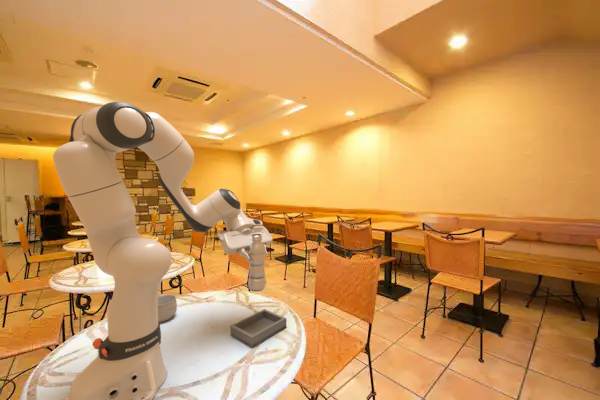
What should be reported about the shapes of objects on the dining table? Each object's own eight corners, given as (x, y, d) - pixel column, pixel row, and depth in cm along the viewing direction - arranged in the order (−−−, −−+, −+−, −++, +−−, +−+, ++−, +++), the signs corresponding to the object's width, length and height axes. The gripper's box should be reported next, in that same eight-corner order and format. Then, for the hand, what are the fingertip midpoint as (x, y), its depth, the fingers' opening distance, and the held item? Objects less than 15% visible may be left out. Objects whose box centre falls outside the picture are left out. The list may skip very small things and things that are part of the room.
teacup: (174, 323, 99) (173, 302, 99) (142, 327, 96) (141, 306, 96) (180, 307, 113) (180, 289, 112) (153, 311, 110) (152, 293, 110)
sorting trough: (252, 348, 82) (251, 337, 82) (230, 335, 89) (230, 325, 89) (286, 327, 94) (286, 318, 94) (264, 317, 102) (264, 309, 101)
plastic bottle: (268, 286, 94) (267, 233, 94) (263, 294, 88) (263, 236, 87) (251, 286, 95) (250, 232, 94) (245, 293, 88) (244, 236, 87)
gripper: (219, 226, 87) (237, 258, 81) (264, 220, 103) (282, 247, 97) (212, 237, 90) (229, 270, 84) (257, 230, 106) (274, 257, 100)
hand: (258, 257), depth 90 cm, fingers closed on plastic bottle, 6 cm apart
